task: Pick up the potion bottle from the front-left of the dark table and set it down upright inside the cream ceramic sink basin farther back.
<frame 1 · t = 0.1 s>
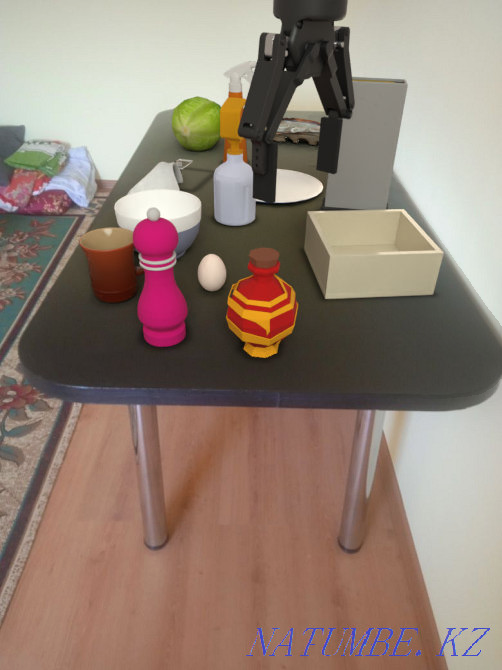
hand: (297, 185, 63), 24 cm above the table, tool pointing down, fingers open, 13 cm apart
grey piece: (298, 139, 171), on the table
pepper mill: (165, 336, 78), on the table
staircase: (181, 179, 136), on the table, touching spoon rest
spray bottle: (241, 164, 148), on the table
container: (353, 217, 117), on the table
plate: (273, 189, 131), on the table
mug: (126, 294, 88), on the table
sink: (364, 270, 96), on the table
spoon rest: (161, 201, 123), on the table, touching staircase
potion bottle: (260, 347, 76), on the table
bowl: (162, 252, 101), on the table
egg: (212, 290, 89), on the table
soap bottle: (234, 219, 115), on the table
lettuce: (200, 148, 160), on the table
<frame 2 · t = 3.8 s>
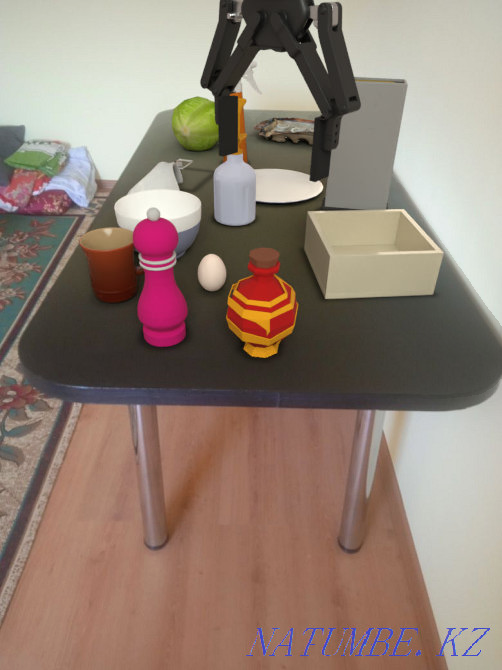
hand: (271, 165, 61), 26 cm above the table, tool pointing down, fingers open, 13 cm apart
nothing on the table moved.
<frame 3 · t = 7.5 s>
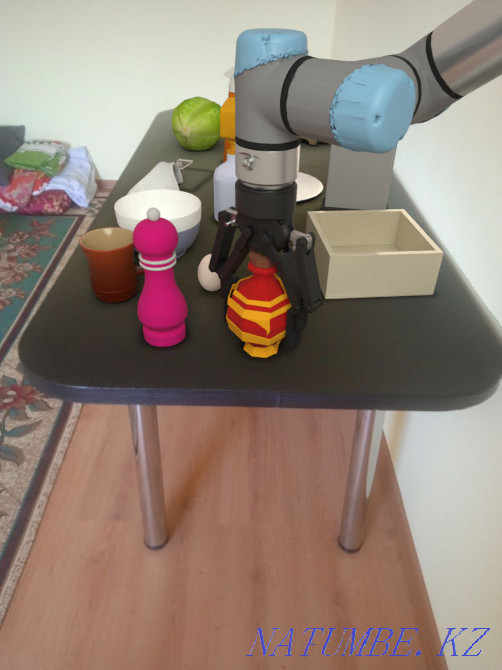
hand: (260, 331, 74), 3 cm above the table, tool pointing down, fingers closed on potion bottle, 10 cm apart
potion bottle: (260, 347, 76), on the table, touching gripper
everything else where it was.
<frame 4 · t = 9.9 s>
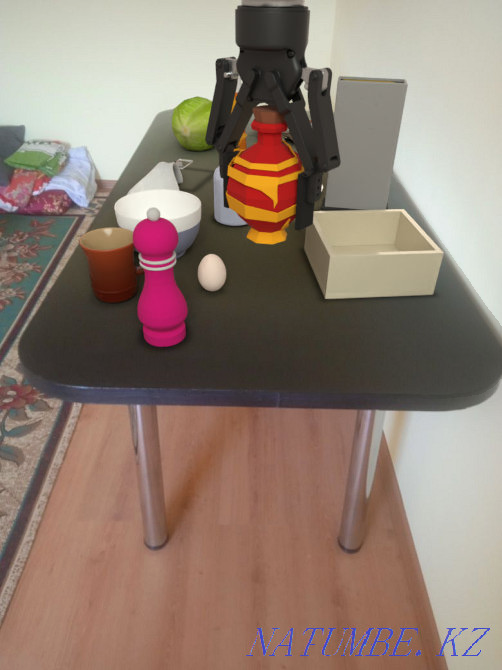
hand: (266, 215, 64), 20 cm above the table, tool pointing down, fingers closed on potion bottle, 10 cm apart
potion bottle: (266, 236, 65), point 17 cm above the table, touching gripper
everything else where it was.
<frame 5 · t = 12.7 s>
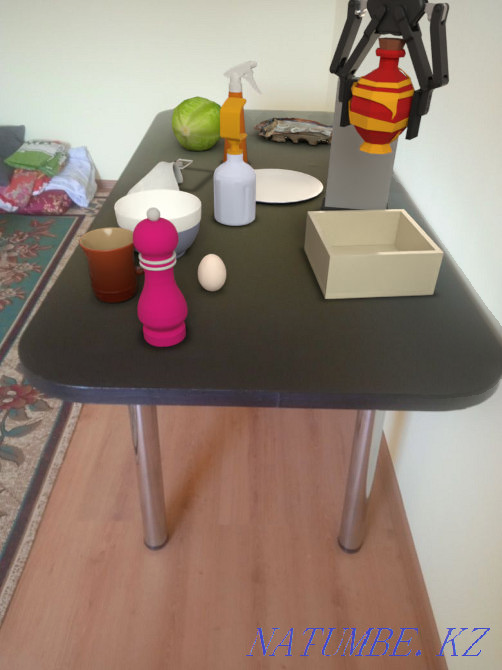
hand: (377, 131, 79), 25 cm above the table, tool pointing down, fingers closed on potion bottle, 10 cm apart
potion bottle: (374, 150, 81), point 22 cm above the table, touching gripper
everything else where it was.
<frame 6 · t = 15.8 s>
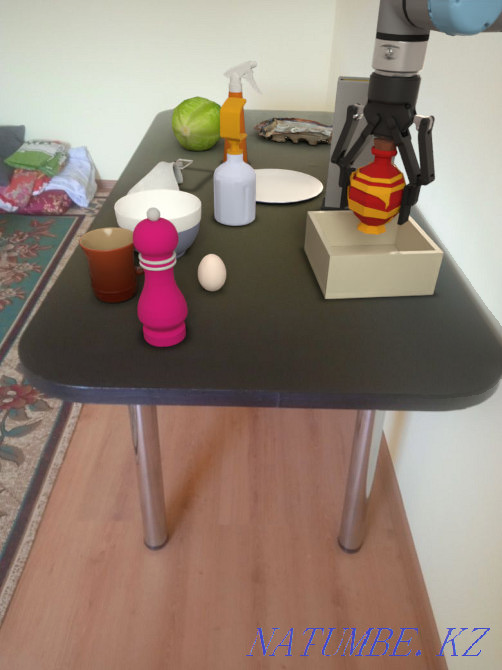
hand: (373, 213, 89), 11 cm above the table, tool pointing down, fingers closed on potion bottle, 10 cm apart
potion bottle: (370, 229, 91), point 8 cm above the table, touching gripper
everything else where it was.
when the fingers open (4 cm above the table, at t = 18.2 s): potion bottle stays where it is, resting on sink.
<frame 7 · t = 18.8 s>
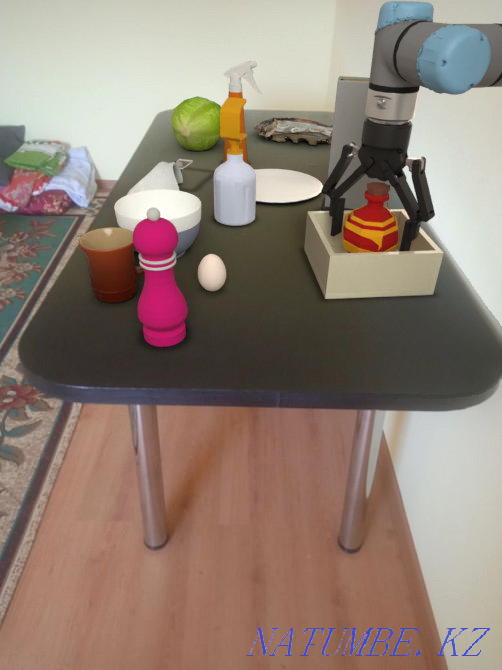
hand: (368, 244, 93), 5 cm above the table, tool pointing down, fingers open, 13 cm apart
potion bottle: (364, 266, 95), point 1 cm above the table, touching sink
everything else where it was.
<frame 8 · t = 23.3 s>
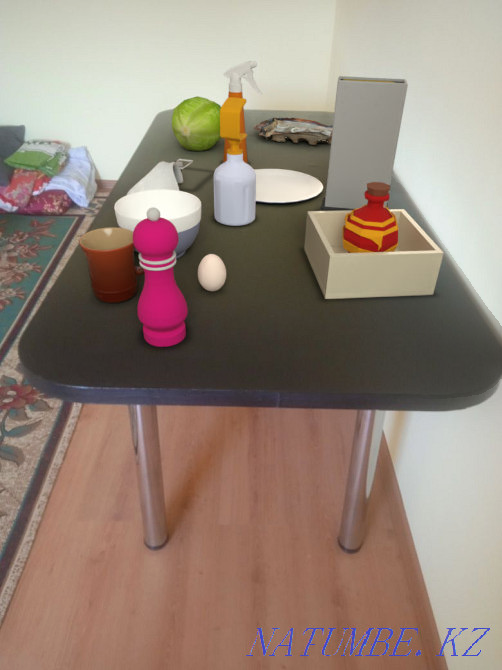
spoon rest: (161, 201, 123), on the table, touching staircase
everything else where it was.
at the end: potion bottle inside the target area in the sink (0.0 cm from its centre), point 0.8 cm above the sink's base; potion bottle tilted 0°; the gripper is holding nothing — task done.
